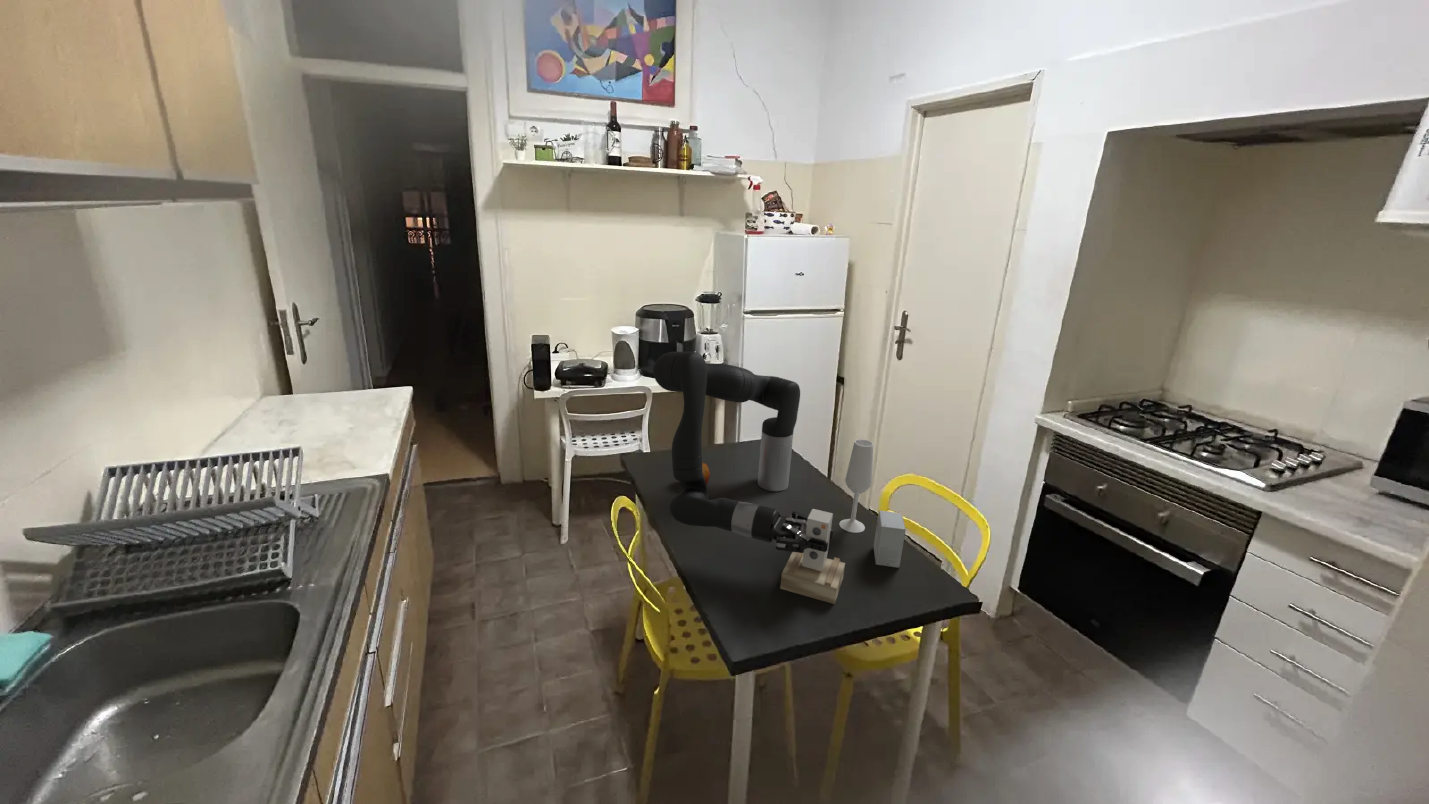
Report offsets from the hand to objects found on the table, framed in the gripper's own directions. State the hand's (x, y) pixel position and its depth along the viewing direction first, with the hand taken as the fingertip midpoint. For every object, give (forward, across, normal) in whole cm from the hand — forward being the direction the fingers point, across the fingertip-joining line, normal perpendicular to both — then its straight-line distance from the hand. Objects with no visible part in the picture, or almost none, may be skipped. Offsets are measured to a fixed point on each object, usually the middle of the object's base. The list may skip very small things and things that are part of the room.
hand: (829, 540), depth 123 cm
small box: (+11, +18, +12) cm, 24 cm away
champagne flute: (+1, +29, +12) cm, 31 cm away
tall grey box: (-3, 0, +7) cm, 7 cm away
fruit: (-45, +31, +12) cm, 56 cm away
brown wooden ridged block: (-3, 0, +12) cm, 12 cm away
